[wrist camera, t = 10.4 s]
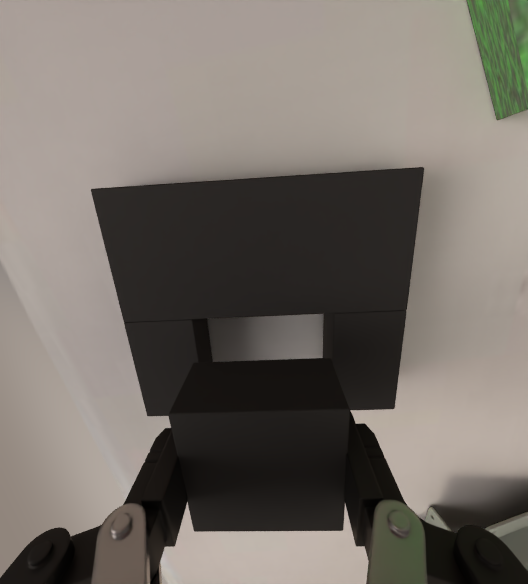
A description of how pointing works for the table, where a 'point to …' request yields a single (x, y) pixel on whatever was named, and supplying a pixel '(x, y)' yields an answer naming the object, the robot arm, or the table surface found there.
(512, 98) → the green jade tablet
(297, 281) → the black flat notched block
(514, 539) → the metal bracket
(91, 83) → the table surface
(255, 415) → the small black block
